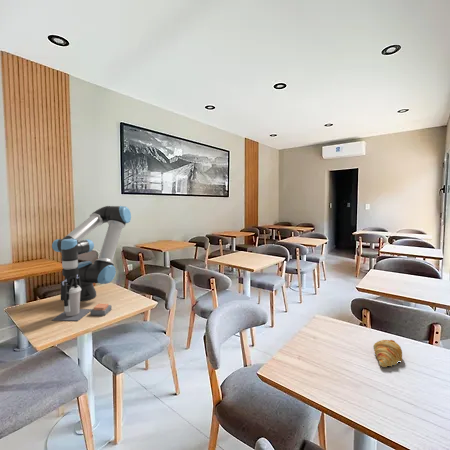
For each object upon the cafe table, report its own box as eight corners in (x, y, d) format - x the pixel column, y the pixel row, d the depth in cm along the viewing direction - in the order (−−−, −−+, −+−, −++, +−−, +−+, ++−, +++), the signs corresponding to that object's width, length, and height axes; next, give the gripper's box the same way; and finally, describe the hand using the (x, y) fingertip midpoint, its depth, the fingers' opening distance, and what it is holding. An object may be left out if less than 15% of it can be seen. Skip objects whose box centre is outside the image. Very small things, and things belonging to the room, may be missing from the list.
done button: (98, 307, 152) (98, 303, 152) (108, 307, 152) (108, 303, 151) (93, 311, 146) (93, 307, 146) (103, 312, 146) (103, 307, 146)
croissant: (390, 381, 99) (403, 368, 95) (364, 360, 104) (376, 346, 101) (398, 355, 115) (410, 342, 111) (376, 337, 120) (386, 325, 117)
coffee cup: (76, 317, 141) (74, 290, 139) (58, 317, 141) (57, 290, 139) (85, 310, 150) (84, 284, 149) (69, 310, 150) (68, 284, 149)
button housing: (98, 309, 153) (97, 305, 153) (111, 309, 153) (111, 305, 153) (90, 315, 145) (90, 310, 145) (104, 315, 145) (104, 311, 145)
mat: (68, 309, 153) (68, 308, 153) (92, 310, 152) (92, 309, 152) (51, 320, 139) (51, 319, 139) (77, 321, 138) (77, 320, 138)
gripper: (74, 263, 153) (76, 301, 155) (50, 272, 133) (52, 316, 135) (87, 263, 153) (89, 301, 155) (65, 272, 133) (67, 316, 135)
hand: (72, 308), depth 145 cm, fingers closed on coffee cup, 8 cm apart
